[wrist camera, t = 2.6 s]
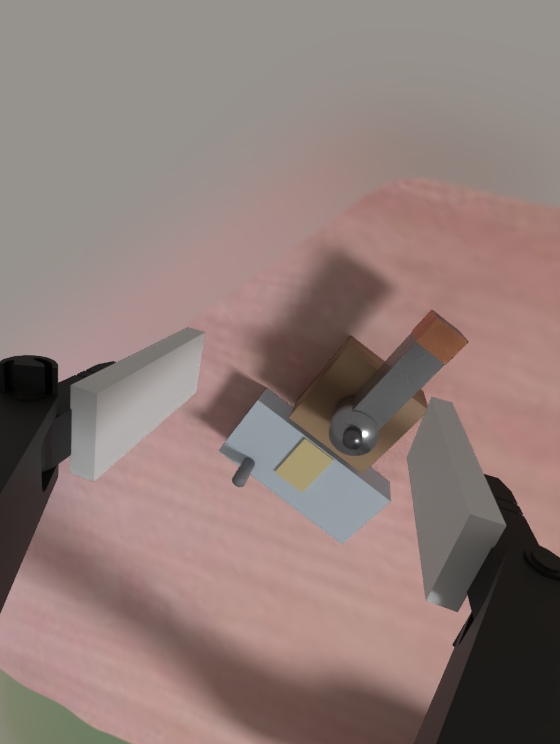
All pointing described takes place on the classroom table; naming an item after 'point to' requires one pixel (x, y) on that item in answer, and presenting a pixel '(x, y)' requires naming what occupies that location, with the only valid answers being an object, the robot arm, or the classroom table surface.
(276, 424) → the grey block with peg
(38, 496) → the robot arm
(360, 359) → the block
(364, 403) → the latch bar
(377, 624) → the classroom table surface
